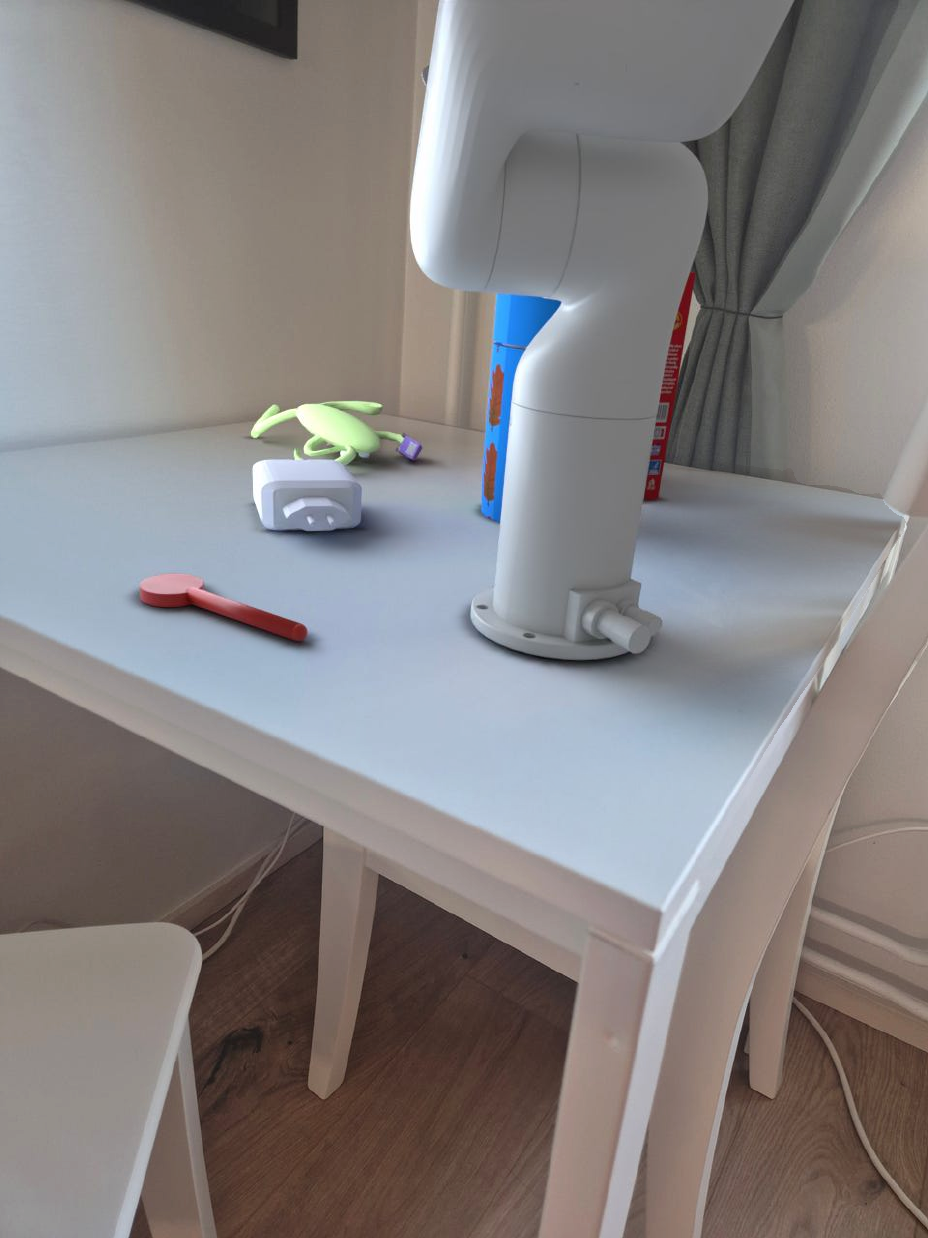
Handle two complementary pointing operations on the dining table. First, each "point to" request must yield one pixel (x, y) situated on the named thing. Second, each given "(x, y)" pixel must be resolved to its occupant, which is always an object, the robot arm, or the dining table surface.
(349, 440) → the figurine
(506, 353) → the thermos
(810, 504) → the dining table surface
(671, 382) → the food packaging
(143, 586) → the red flat paddle
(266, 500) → the charger
